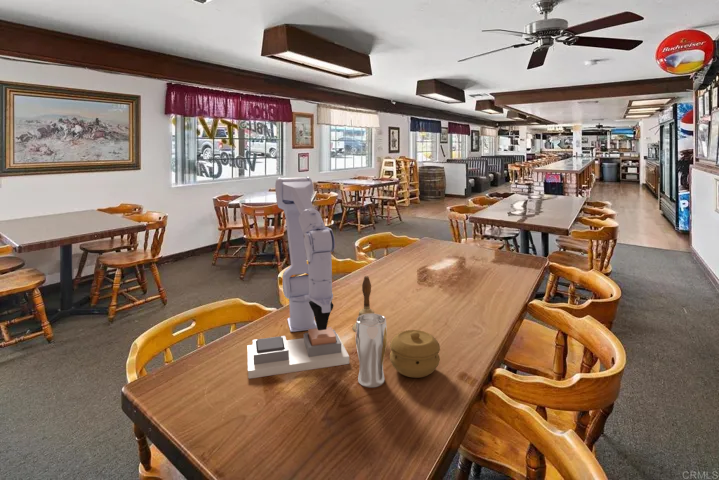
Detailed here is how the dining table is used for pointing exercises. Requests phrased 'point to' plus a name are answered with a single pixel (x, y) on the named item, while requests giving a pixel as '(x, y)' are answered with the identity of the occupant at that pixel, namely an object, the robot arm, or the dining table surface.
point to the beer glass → (371, 348)
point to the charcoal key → (269, 344)
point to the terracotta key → (321, 336)
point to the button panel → (295, 357)
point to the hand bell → (365, 298)
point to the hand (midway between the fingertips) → (321, 328)
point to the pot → (414, 353)
